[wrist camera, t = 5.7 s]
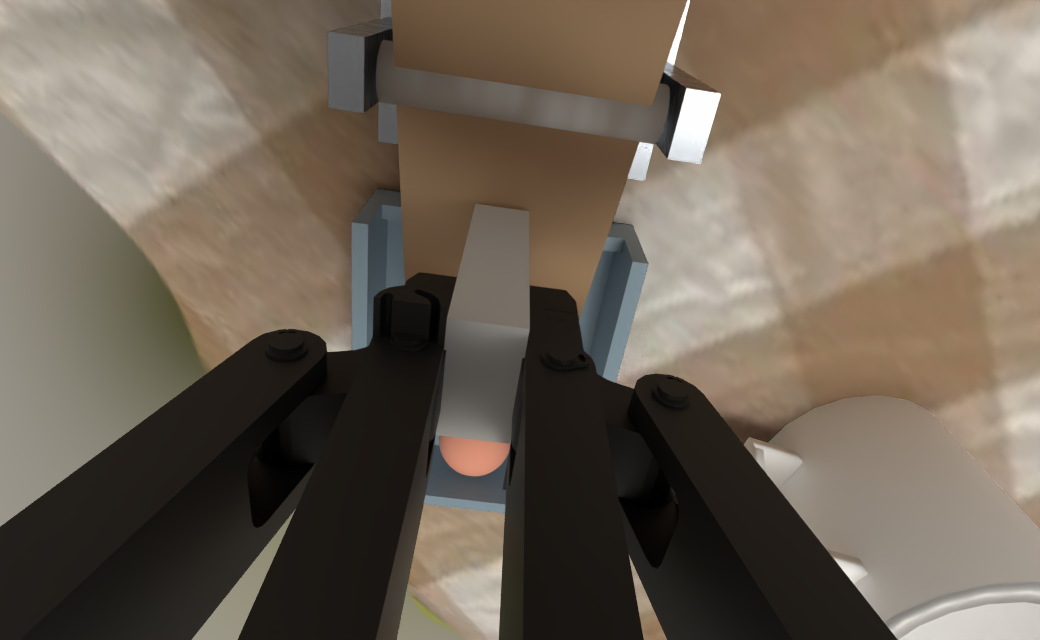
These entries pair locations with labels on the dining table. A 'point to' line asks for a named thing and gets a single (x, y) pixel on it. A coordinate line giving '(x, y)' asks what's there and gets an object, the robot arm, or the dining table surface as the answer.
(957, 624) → the mug
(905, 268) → the dining table surface
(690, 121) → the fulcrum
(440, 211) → the lever
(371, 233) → the tray
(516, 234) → the robot arm
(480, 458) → the ball
